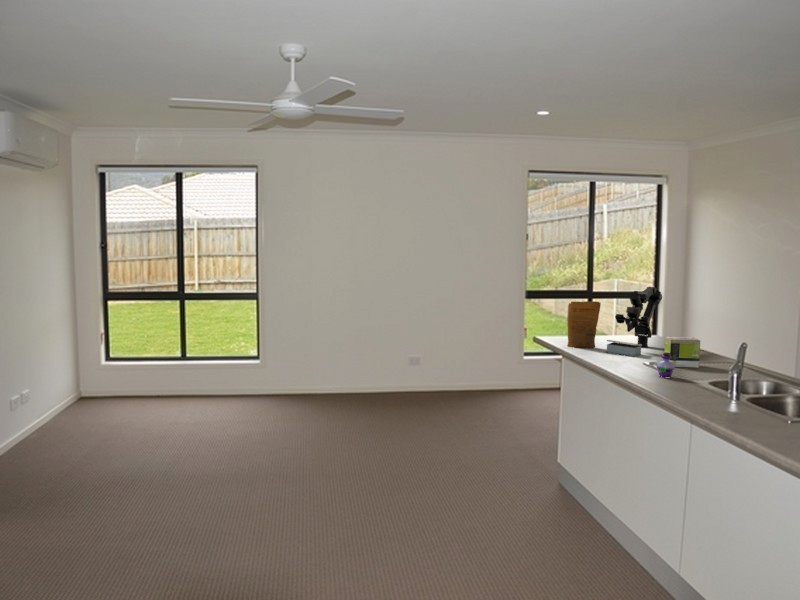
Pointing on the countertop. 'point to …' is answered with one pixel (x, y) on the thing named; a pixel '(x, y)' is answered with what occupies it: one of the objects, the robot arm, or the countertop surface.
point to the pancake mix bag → (582, 323)
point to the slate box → (624, 349)
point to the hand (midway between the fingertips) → (628, 331)
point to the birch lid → (624, 342)
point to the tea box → (683, 351)
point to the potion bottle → (665, 365)
